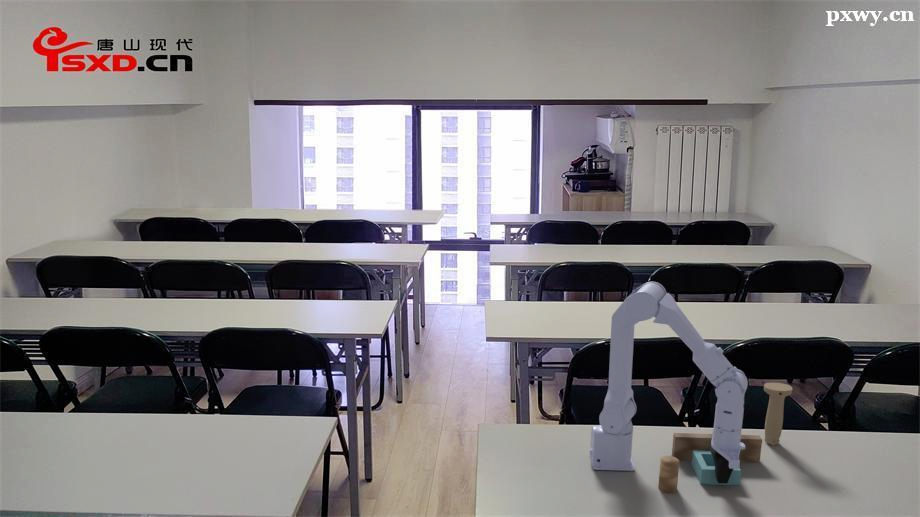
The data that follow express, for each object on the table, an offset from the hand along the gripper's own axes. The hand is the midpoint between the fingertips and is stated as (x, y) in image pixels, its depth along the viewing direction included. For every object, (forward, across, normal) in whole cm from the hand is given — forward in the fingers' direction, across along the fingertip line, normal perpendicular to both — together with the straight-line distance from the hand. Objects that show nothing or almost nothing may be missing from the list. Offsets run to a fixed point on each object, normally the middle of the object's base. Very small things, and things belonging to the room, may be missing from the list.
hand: (722, 481), depth 179 cm
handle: (+2, +22, -18) cm, 29 cm away
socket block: (+2, +6, 0) cm, 6 cm away
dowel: (+2, -1, +12) cm, 12 cm away
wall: (+2, +13, -2) cm, 13 cm away
